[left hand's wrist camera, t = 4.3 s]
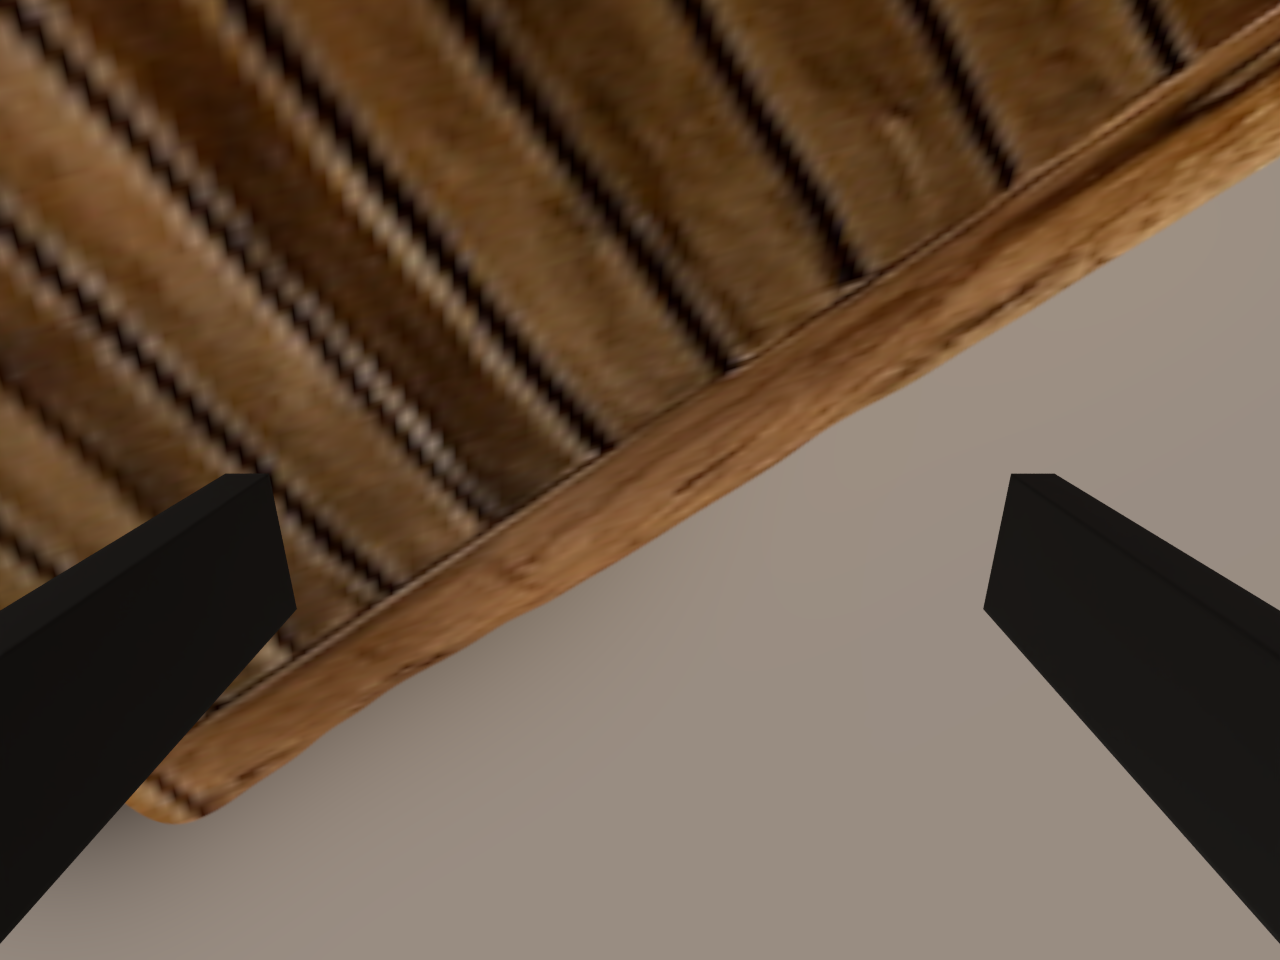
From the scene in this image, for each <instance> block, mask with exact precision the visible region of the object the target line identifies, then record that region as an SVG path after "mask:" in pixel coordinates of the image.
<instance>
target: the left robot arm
mask: <svg viewBox="0 0 1280 960" xmlns="http://www.w3.org/2000/svg"><path fill="white" fill-rule="evenodd" d="M296 609H297V608H296V603H295V598H294V594H293V589H292V584H291V579H290V574H289V569H288V564H287V560H286V555H285V550H284V545H283V540H282V535H281V530H280V526H279V521H278V516H277V511H276V506H275V501H274V496H273V492H272V487H271V482H270V477H269V474H224V475H223V476H221V477H219V478H218V479H216V480H214V481H213V482H211V483H209V484H208V485H206V486H204V487H203V488H201V489H200V490H198V491H196V492H195V493H193V494H191V495H190V496H188V497H186V498H185V499H183V500H181V501H180V502H178V503H177V504H175V505H173V506H172V507H170V508H168V509H167V510H165V511H163V512H162V513H160V514H158V515H157V516H155V517H153V518H152V519H150V520H149V521H147V522H145V523H144V524H142V525H140V526H139V527H137V528H135V529H134V530H132V531H130V532H129V533H127V534H126V535H124V536H122V537H121V538H119V539H117V540H116V541H114V542H112V543H111V544H109V545H107V546H106V547H104V548H103V549H101V550H99V551H98V552H96V553H94V554H93V555H91V556H89V557H88V558H86V559H84V560H83V561H81V562H79V563H78V564H76V565H75V566H73V567H71V568H70V569H68V570H66V571H65V572H63V573H61V574H60V575H58V576H56V577H55V578H53V579H52V580H50V581H48V582H47V583H45V584H43V585H42V586H40V587H38V588H37V589H35V590H33V591H32V592H30V593H28V594H27V595H25V596H24V597H22V598H20V599H19V600H17V601H15V602H14V603H12V604H10V605H9V606H7V607H5V608H4V609H2V610H1V611H0V943H1V942H2V941H3V940H4V939H5V938H6V936H7V935H8V934H9V933H10V932H11V931H12V930H13V929H14V927H15V926H16V925H17V924H18V923H19V922H20V921H21V920H22V918H23V917H24V916H25V915H26V914H27V913H28V912H29V910H30V909H31V908H32V907H33V906H34V905H35V904H36V903H37V901H38V900H39V899H40V898H41V897H42V896H43V895H44V894H45V892H46V891H47V890H48V889H49V888H50V887H51V886H52V885H53V883H54V882H55V881H56V880H57V879H58V878H59V877H60V875H61V874H62V873H63V872H64V871H65V870H66V869H67V868H68V866H69V865H70V864H71V863H72V862H73V861H74V860H75V859H76V857H77V856H78V855H79V854H80V853H81V852H82V851H83V849H84V848H85V847H86V846H87V845H88V844H89V843H90V842H91V841H92V839H93V838H94V837H95V836H96V835H97V834H98V833H99V832H100V830H101V829H102V828H103V827H104V826H105V825H106V824H107V822H108V821H109V820H110V819H111V818H112V817H113V816H114V815H115V813H116V812H117V811H118V810H119V809H120V808H121V807H122V806H123V804H124V803H125V802H126V801H127V800H128V799H129V798H130V797H131V795H132V794H133V793H134V792H135V791H136V790H137V789H138V788H139V786H140V785H141V784H142V783H143V782H144V781H145V780H146V779H147V777H148V776H149V775H150V774H151V773H152V772H153V771H154V769H155V768H156V767H157V766H158V765H159V764H160V763H161V762H162V760H163V759H164V758H165V757H166V756H167V755H168V754H169V753H170V751H171V750H172V749H173V748H174V747H175V746H176V745H177V744H178V742H179V741H180V740H181V739H182V738H183V737H184V736H185V735H186V733H187V732H188V731H189V730H190V729H191V728H192V727H193V725H194V724H195V723H196V722H197V721H198V720H199V719H200V718H201V716H202V715H203V714H204V713H205V712H206V711H207V710H208V709H209V707H210V706H211V705H212V704H213V703H214V702H215V701H216V700H217V698H218V697H219V696H220V695H221V694H222V693H223V692H224V691H225V689H226V688H227V687H228V686H229V685H230V684H231V683H232V681H233V680H234V679H235V678H236V677H237V676H238V675H239V674H240V672H241V671H242V670H243V669H244V668H245V667H246V666H247V665H248V663H249V662H250V661H251V660H252V659H253V658H254V657H255V656H256V654H257V653H258V652H259V651H260V650H261V649H262V648H263V646H264V645H265V644H266V643H267V642H268V641H269V640H270V639H271V637H272V636H273V635H274V634H275V633H276V632H277V631H278V630H279V628H280V627H281V626H282V625H283V624H284V623H285V622H286V621H287V619H288V618H289V617H290V616H291V615H292V614H293V613H294V612H295V610H296ZM983 609H984V610H985V612H986V613H987V614H988V615H989V616H990V617H991V618H992V619H993V621H994V622H995V623H996V624H997V625H998V626H999V627H1000V628H1001V630H1002V631H1003V632H1004V633H1005V634H1006V635H1007V636H1008V637H1009V639H1010V640H1011V641H1012V642H1013V643H1014V644H1015V645H1016V646H1017V648H1018V649H1019V650H1020V651H1021V652H1022V653H1023V654H1024V656H1025V657H1026V658H1027V659H1028V660H1029V661H1030V662H1031V663H1032V664H1033V666H1034V667H1035V668H1036V669H1037V670H1038V671H1039V672H1040V674H1041V675H1042V676H1043V677H1044V678H1045V679H1046V680H1047V681H1048V683H1049V684H1050V685H1051V686H1052V687H1053V688H1054V689H1055V691H1056V692H1057V693H1058V694H1059V695H1060V696H1061V697H1062V698H1063V700H1064V701H1065V702H1066V703H1067V704H1068V705H1069V706H1070V707H1071V709H1072V710H1073V711H1074V712H1075V713H1076V714H1077V715H1078V716H1079V718H1080V719H1081V720H1082V721H1083V722H1084V723H1085V724H1086V725H1087V727H1088V728H1089V729H1090V730H1091V731H1092V732H1093V733H1094V734H1095V736H1096V737H1097V738H1098V739H1099V740H1100V741H1101V742H1102V744H1103V745H1104V746H1105V747H1106V748H1107V749H1108V750H1109V751H1110V753H1111V754H1112V755H1113V756H1114V757H1115V758H1116V759H1117V760H1118V762H1119V763H1120V764H1121V765H1122V766H1123V767H1124V768H1125V769H1126V771H1127V772H1128V773H1129V774H1130V775H1131V776H1132V777H1133V779H1134V780H1135V781H1136V782H1137V783H1138V784H1139V785H1140V786H1141V788H1142V789H1143V790H1144V791H1145V792H1146V793H1147V794H1148V795H1149V797H1150V798H1151V799H1152V800H1153V801H1154V802H1155V803H1156V804H1157V806H1158V807H1159V808H1160V809H1161V810H1162V811H1163V812H1164V813H1165V815H1166V816H1167V817H1168V818H1169V819H1170V820H1171V821H1172V822H1173V824H1174V825H1175V826H1176V827H1177V828H1178V829H1179V830H1180V832H1181V833H1182V834H1183V835H1184V836H1185V837H1186V838H1187V839H1188V841H1189V842H1190V843H1191V844H1192V845H1193V846H1194V847H1195V848H1196V850H1197V851H1198V852H1199V853H1200V854H1201V855H1202V856H1203V857H1204V859H1205V860H1206V861H1207V862H1208V863H1209V864H1210V865H1211V866H1212V868H1213V869H1214V870H1215V871H1216V872H1217V873H1218V874H1219V876H1220V877H1221V878H1222V879H1223V880H1224V881H1225V882H1226V883H1227V885H1228V886H1229V887H1230V888H1231V889H1232V890H1233V891H1234V892H1235V894H1236V895H1237V896H1238V897H1239V898H1240V899H1241V900H1242V901H1243V903H1244V904H1245V905H1246V906H1247V907H1248V908H1249V909H1250V910H1251V912H1252V913H1253V914H1254V915H1255V916H1256V917H1257V918H1258V920H1259V921H1260V922H1261V923H1262V924H1263V925H1264V926H1265V927H1266V929H1267V930H1268V931H1269V932H1270V933H1271V934H1272V935H1273V936H1274V938H1275V939H1276V940H1277V941H1278V942H1279V943H1280V611H1279V610H1278V609H1276V608H1275V607H1273V606H1271V605H1270V604H1268V603H1266V602H1265V601H1263V600H1261V599H1260V598H1258V597H1256V596H1255V595H1253V594H1251V593H1250V592H1248V591H1247V590H1245V589H1243V588H1242V587H1240V586H1238V585H1237V584H1235V583H1233V582H1232V581H1230V580H1228V579H1227V578H1225V577H1224V576H1222V575H1220V574H1219V573H1217V572H1215V571H1214V570H1212V569H1210V568H1209V567H1207V566H1205V565H1204V564H1202V563H1200V562H1199V561H1197V560H1196V559H1194V558H1192V557H1191V556H1189V555H1187V554H1186V553H1184V552H1182V551H1181V550H1179V549H1177V548H1176V547H1174V546H1173V545H1171V544H1169V543H1168V542H1166V541H1164V540H1163V539H1161V538H1159V537H1158V536H1156V535H1154V534H1153V533H1151V532H1150V531H1148V530H1146V529H1145V528H1143V527H1141V526H1140V525H1138V524H1136V523H1135V522H1133V521H1131V520H1130V519H1128V518H1126V517H1125V516H1123V515H1121V514H1120V513H1118V512H1117V511H1115V510H1113V509H1112V508H1110V507H1108V506H1107V505H1105V504H1103V503H1102V502H1100V501H1098V500H1097V499H1095V498H1094V497H1092V496H1090V495H1089V494H1087V493H1085V492H1084V491H1082V490H1080V489H1079V488H1077V487H1075V486H1074V485H1072V484H1071V483H1069V482H1067V481H1066V480H1064V479H1062V478H1061V477H1059V476H1057V475H1056V474H1011V477H1010V482H1009V487H1008V492H1007V496H1006V501H1005V506H1004V511H1003V516H1002V521H1001V526H1000V531H999V535H998V540H997V545H996V550H995V555H994V560H993V565H992V569H991V574H990V579H989V584H988V589H987V594H986V599H985V603H984V608H983Z"/></svg>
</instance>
